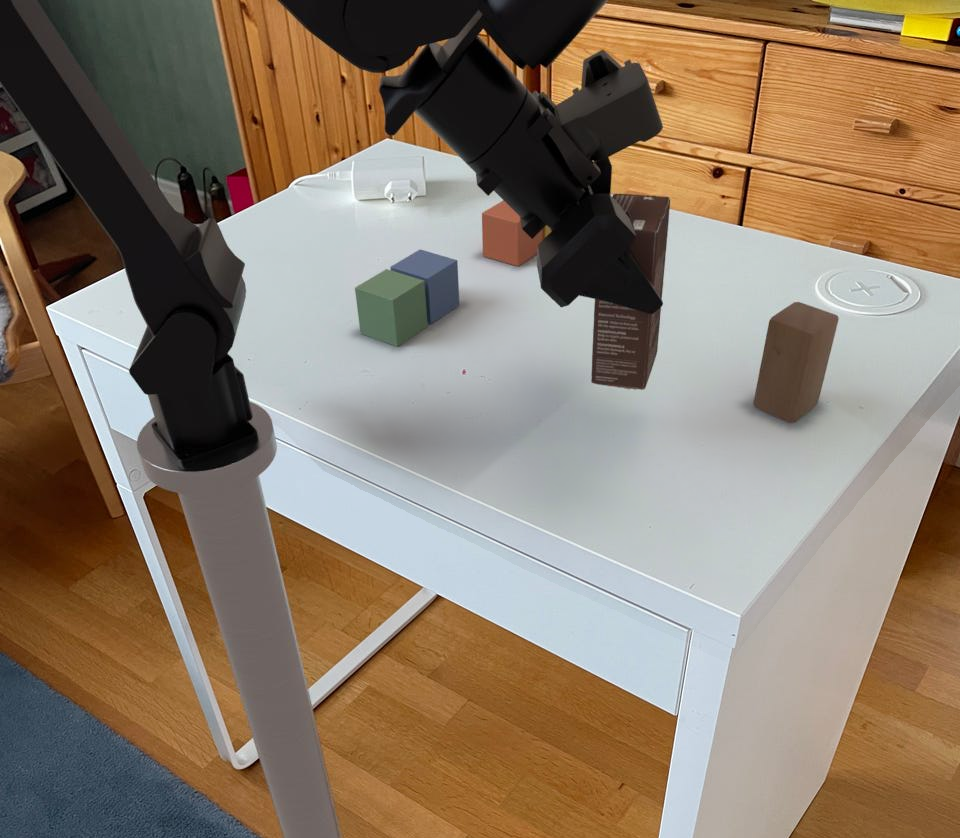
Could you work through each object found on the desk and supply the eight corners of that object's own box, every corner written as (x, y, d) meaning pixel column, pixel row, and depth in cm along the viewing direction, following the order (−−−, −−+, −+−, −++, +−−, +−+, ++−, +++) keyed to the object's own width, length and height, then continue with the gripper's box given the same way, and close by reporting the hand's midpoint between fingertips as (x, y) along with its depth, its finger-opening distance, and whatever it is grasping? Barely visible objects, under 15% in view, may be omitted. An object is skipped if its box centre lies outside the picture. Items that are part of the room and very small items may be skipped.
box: (601, 346, 78) (612, 190, 69) (657, 354, 77) (677, 196, 68) (584, 385, 74) (595, 224, 65) (644, 393, 73) (663, 231, 64)
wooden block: (750, 408, 81) (767, 316, 75) (777, 388, 83) (795, 298, 77) (793, 426, 79) (814, 333, 73) (819, 405, 81) (841, 314, 75)
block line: (397, 346, 90) (393, 300, 86) (360, 333, 91) (354, 287, 88) (568, 233, 106) (569, 190, 102) (533, 224, 108) (533, 182, 104)
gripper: (611, 66, 52) (777, 262, 60) (573, -18, 65) (713, 153, 73) (466, 221, 57) (636, 382, 65) (458, 115, 70) (600, 260, 79)
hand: (649, 286), depth 70 cm, fingers closed on box, 7 cm apart
